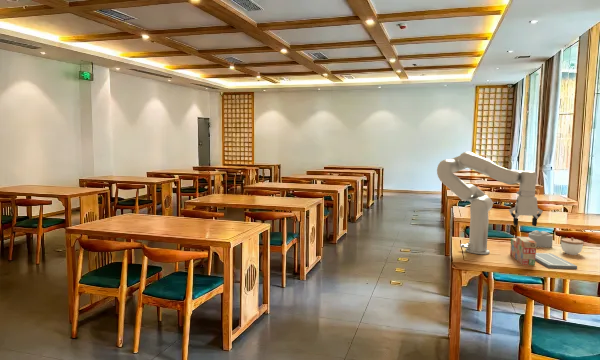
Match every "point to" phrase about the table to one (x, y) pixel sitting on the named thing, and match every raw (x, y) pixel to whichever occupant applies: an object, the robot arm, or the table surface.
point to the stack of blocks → (523, 250)
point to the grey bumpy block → (541, 238)
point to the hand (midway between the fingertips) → (524, 225)
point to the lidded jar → (571, 246)
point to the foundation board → (553, 261)
